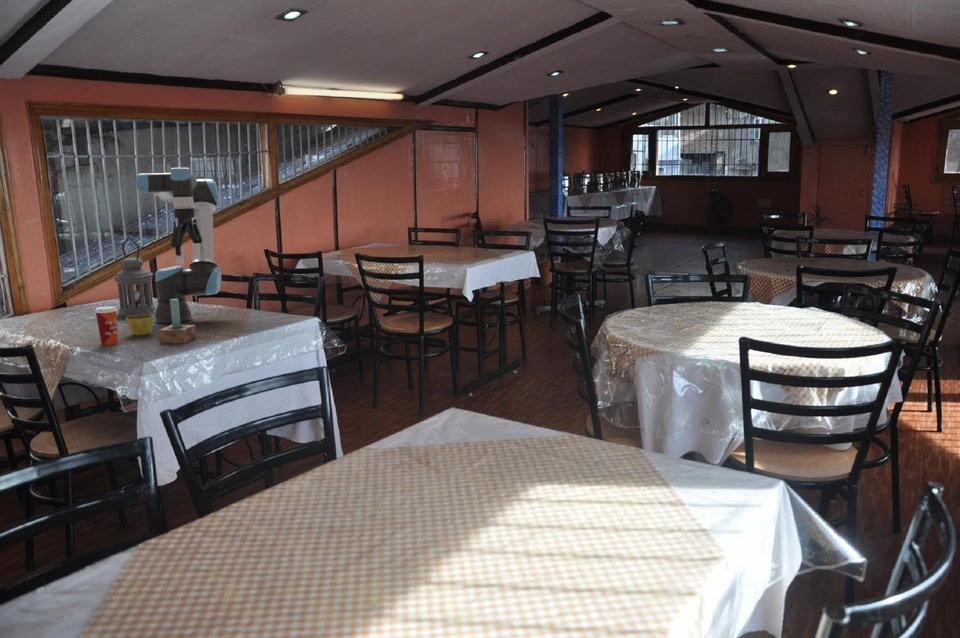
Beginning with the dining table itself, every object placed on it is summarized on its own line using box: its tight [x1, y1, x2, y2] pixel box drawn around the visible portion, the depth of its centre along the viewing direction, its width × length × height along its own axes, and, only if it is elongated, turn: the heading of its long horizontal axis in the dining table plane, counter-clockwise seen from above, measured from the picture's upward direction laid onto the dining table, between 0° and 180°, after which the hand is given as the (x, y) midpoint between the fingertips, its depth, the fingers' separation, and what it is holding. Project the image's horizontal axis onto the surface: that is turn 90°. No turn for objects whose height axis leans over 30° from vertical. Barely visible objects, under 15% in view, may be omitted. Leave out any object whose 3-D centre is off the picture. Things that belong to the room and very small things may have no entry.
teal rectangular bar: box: [170, 299, 182, 329], centre depth 304 cm, size 3×3×16 cm
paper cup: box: [94, 305, 119, 346], centre depth 300 cm, size 8×8×14 cm
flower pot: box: [125, 314, 154, 336], centre depth 317 cm, size 10×10×7 cm
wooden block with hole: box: [157, 324, 197, 344], centre depth 305 cm, size 10×10×5 cm
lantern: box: [113, 236, 157, 317], centre depth 362 cm, size 17×17×35 cm
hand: (188, 261), depth 314 cm, fingers open, 13 cm apart
